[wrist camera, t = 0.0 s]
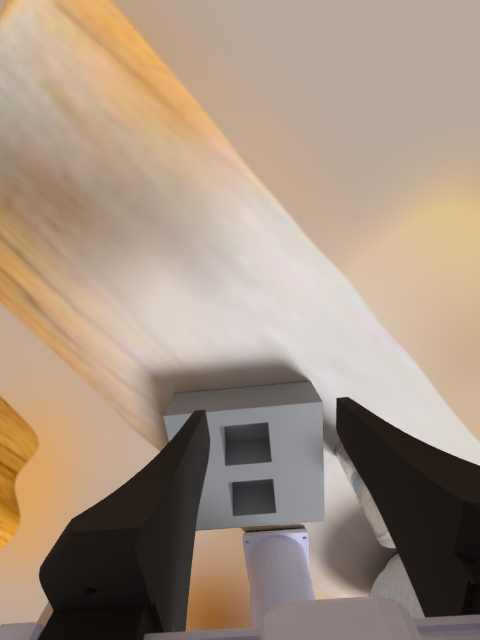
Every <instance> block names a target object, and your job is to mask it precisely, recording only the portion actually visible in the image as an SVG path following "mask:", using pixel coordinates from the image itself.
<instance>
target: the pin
mask: <svg viewBox="0 0 480 640" xmlns="http://www.w3.org/2000/svg"><path fill="white" fill-rule="evenodd" d="M335 453H336V456H337V458H338V460H339V462H340V464H341V466H342V468H343V470H344V472H345V474H346V476H347V478H348V480H349V483H350V485H351V487H352V489H353V491H354V493H355V495H356V497H357V499H358V501H359V503H360V505H361V507H362V509H363V511H364V513H365V515H366V517H367V519H368V521H369V524H370V526H371V528H372V530H373V532H374V534H375V536H376V538H377V540H378V542H379V543H380V544H381V545H383V546H384V547H387V548H396V547H395V545H394V543H393V540H392V538H391V536H390V534H389V532H388V529H387V527H386V525H385V523H384V521H383V519H382V516H381V514H380V512H379V510H378V508H377V506H376V504H375V502H374V500H373V498H372V496H371V494H370V492H369V491H368V489H367V487H366V485H365V484H364V482H363V480H362V478H361V477H360V475H359V473H358V472H357V470H356V468H355V466H354V465H353V463H352V461H351V459H350V458H349V456H348V454H347V452H346V451H345V449H344V447H343V444H342V442H340V443H339V444H338V445H337V446H336V449H335Z"/></svg>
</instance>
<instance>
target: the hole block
mask: <svg viewBox="0 0 480 640" xmlns="http://www.w3.org/2000/svg"><path fill="white" fill-rule="evenodd" d="M195 410H206V416H207V422H208V428H209V434H210V452H209V461H208V466H207V470H206V475H205V480H204V485H203V489H202V494H201V499H200V504H199V509H198V515H197V523H196V531H197V530H211V529H225V528H239V527H253V526H266V525H280V524H294V523H307V522H321V521H324V467H323V403H322V400H321V398H320V397H319V395H318V393H317V391H316V390H315V388H314V386H313V384H312V383H311V381H305V382H294V383H283V384H272V385H261V386H251V387H240V388H229V389H218V390H207V391H196V392H185V393H175V394H174V395H173V397H172V399H171V401H170V403H169V405H168V407H167V409H166V411H165V413H164V415H163V418H164V422H165V427H166V431H167V436H168V440H169V442H170V441H171V440H172V438H173V437H174V436H175V435H176V433H177V432H178V431H179V430H180V429H181V427H182V426H183V425H184V423H185V422H186V421H187V420H188V418H189V417H190V416H191V414H192V413H193V412H194V411H195Z"/></svg>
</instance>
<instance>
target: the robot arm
mask: <svg viewBox="0 0 480 640" xmlns="http://www.w3.org/2000/svg"><path fill="white" fill-rule="evenodd" d="M336 430H337V433H338V435H339V437H340V440H341V442H342V444H343V447H344V449H345V451H346V452H347V454H348V456H349V458H350V459H351V461H352V463H353V465H354V466H355V468H356V470H357V472H358V473H359V475H360V477H361V478H362V480H363V482H364V484H365V485H366V487H367V489H368V491H369V492H370V494H371V496H372V498H373V500H374V502H375V504H376V506H377V508H378V510H379V512H380V514H381V516H382V519H383V521H384V523H385V525H386V527H387V529H388V532H389V534H390V536H391V538H392V540H393V543H394V545H395V547H396V549H397V552H398V554H399V556H400V558H401V561H402V563H403V565H404V568H405V570H406V572H407V575H408V577H409V580H410V582H411V584H412V587H413V589H414V591H415V594H416V596H417V599H418V601H419V604H420V606H421V609H422V611H423V614H424V616H425V618H412V617H411V615H410V613H409V610H408V609H407V608H405V607H404V606H402V605H401V604H399V603H398V602H396V601H394V600H393V599H391V598H384V597H375V596H373V597H356V598H340V599H324V600H316V599H315V594H314V589H313V585H312V580H311V576H310V568H309V544H308V532H307V530H306V529H290V530H276V531H262V532H248V533H244V534H243V543H244V549H245V557H246V564H247V571H248V578H249V586H250V622H251V623H250V624H251V628H238V629H220V630H205V631H204V630H203V631H186V632H185V630H186V617H187V605H188V595H189V586H190V575H191V565H192V556H193V548H194V538H195V531H196V523H197V515H198V509H199V504H200V499H201V494H202V489H203V485H204V480H205V475H206V470H207V466H208V461H209V452H210V434H209V428H208V422H207V416H206V410H195V411H194V412H193V413H192V414H191V416H190V417H189V418H188V420H187V421H186V422H185V423H184V425H183V426H182V427H181V429H180V430H179V431H178V432H177V433H176V435H175V436H174V437H173V438H172V440H171V441H170V442H169V443H168V444H167V445H166V446H165V447H164V448H163V450H162V451H161V452H160V453H159V454H158V455H157V456H156V457H155V458H154V459H153V460H152V461H151V462H150V463H149V464H148V465H146V466H145V467H144V468H143V469H142V470H141V471H140V472H138V473H137V474H136V475H135V476H134V477H133V478H131V479H130V480H129V481H127V482H126V483H125V484H124V485H122V486H121V487H120V488H119V489H117V490H116V491H114V492H113V493H111V494H110V495H109V496H107V497H106V498H105V499H103V500H101V501H100V502H98V503H97V504H95V505H94V506H92V507H91V508H89V509H87V510H86V511H84V512H83V513H81V514H79V515H78V516H76V517H74V518H73V519H72V520H71V521H70V523H69V524H68V525H67V527H66V528H65V530H64V531H63V533H62V534H61V536H60V537H59V539H58V540H57V542H56V543H55V545H54V546H53V548H52V549H51V551H50V553H49V554H48V556H47V557H46V559H45V560H44V562H43V564H42V565H41V567H40V572H39V579H40V582H41V586H42V588H43V590H44V592H45V594H46V596H47V598H48V600H49V602H50V605H51V607H52V609H53V612H52V614H51V616H50V618H49V620H48V622H47V624H46V626H45V627H44V626H43V625H42V624H39V623H34V622H30V623H14V624H2V625H0V640H480V466H479V465H476V464H474V463H471V462H468V461H466V460H463V459H461V458H458V457H456V456H453V455H451V454H449V453H446V452H444V451H442V450H439V449H437V448H435V447H433V446H431V445H428V444H426V443H424V442H422V441H420V440H418V439H416V438H414V437H412V436H410V435H409V434H407V433H405V432H403V431H401V430H400V429H398V428H396V427H394V426H393V425H391V424H389V423H388V422H386V421H384V420H383V419H381V418H380V417H378V416H376V415H375V414H373V413H372V412H370V411H369V410H367V409H366V408H364V407H363V406H361V405H360V404H358V403H357V402H355V401H353V400H352V399H350V398H349V397H343V398H337V408H336Z"/></svg>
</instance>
